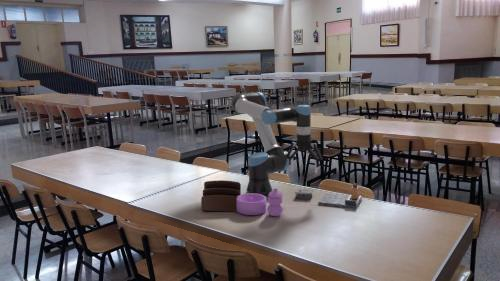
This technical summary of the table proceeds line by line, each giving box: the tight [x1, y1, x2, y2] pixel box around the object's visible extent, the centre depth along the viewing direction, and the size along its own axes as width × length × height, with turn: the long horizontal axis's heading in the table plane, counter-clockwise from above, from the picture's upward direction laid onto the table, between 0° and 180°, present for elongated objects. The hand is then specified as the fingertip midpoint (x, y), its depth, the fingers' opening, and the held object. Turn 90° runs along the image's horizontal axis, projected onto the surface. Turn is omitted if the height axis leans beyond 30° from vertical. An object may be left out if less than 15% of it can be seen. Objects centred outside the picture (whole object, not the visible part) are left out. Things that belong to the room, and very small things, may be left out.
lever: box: [350, 183, 360, 199], centre depth 218 cm, size 3×3×8 cm
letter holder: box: [200, 179, 242, 213], centre depth 215 cm, size 10×20×14 cm, turn 87°
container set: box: [237, 188, 283, 217], centre depth 207 cm, size 25×15×13 cm, turn 60°
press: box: [317, 193, 363, 210], centre depth 218 cm, size 20×15×4 cm
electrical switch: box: [294, 187, 314, 200], centre depth 230 cm, size 9×5×9 cm
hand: (304, 171), depth 224 cm, fingers open, 13 cm apart
